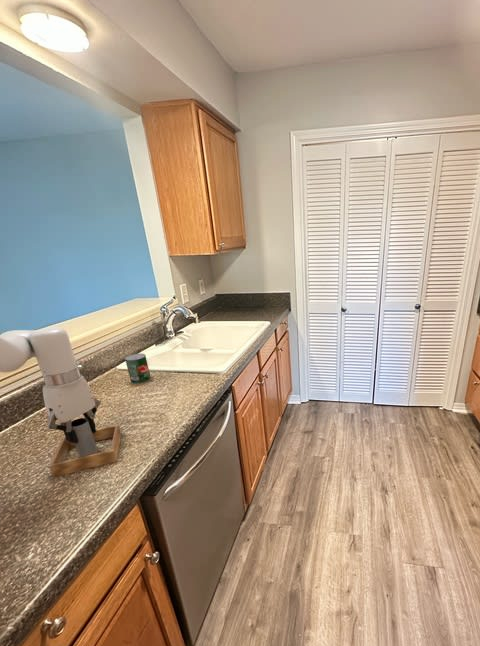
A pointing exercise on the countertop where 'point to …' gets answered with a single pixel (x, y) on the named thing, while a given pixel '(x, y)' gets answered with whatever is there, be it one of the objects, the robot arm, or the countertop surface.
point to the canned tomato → (138, 368)
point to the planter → (84, 437)
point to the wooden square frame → (74, 465)
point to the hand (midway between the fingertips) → (82, 436)
